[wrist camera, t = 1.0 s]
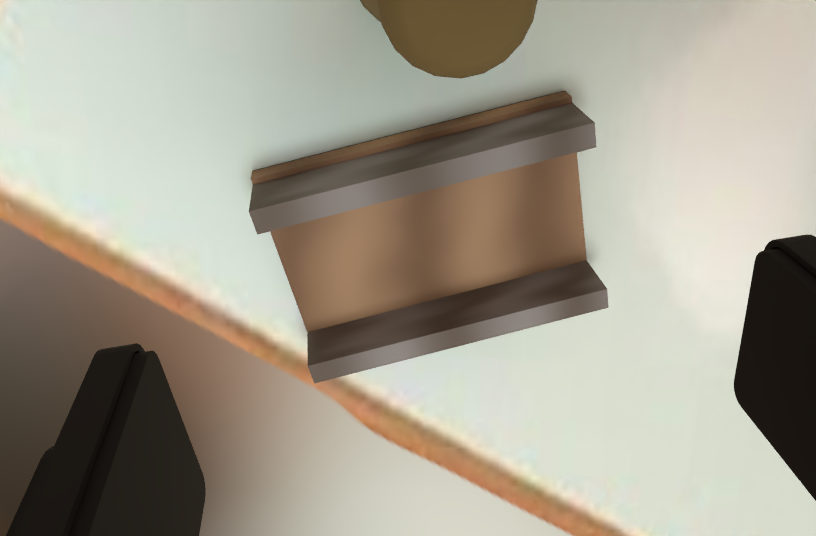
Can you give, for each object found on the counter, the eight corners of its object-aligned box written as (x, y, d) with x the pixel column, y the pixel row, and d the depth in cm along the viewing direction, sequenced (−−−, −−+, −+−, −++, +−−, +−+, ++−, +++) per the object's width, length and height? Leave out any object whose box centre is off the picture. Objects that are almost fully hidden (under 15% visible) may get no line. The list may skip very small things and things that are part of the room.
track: (564, 90, 34) (594, 116, 31) (582, 273, 40) (608, 311, 36) (252, 171, 34) (246, 205, 31) (314, 342, 40) (315, 387, 36)
